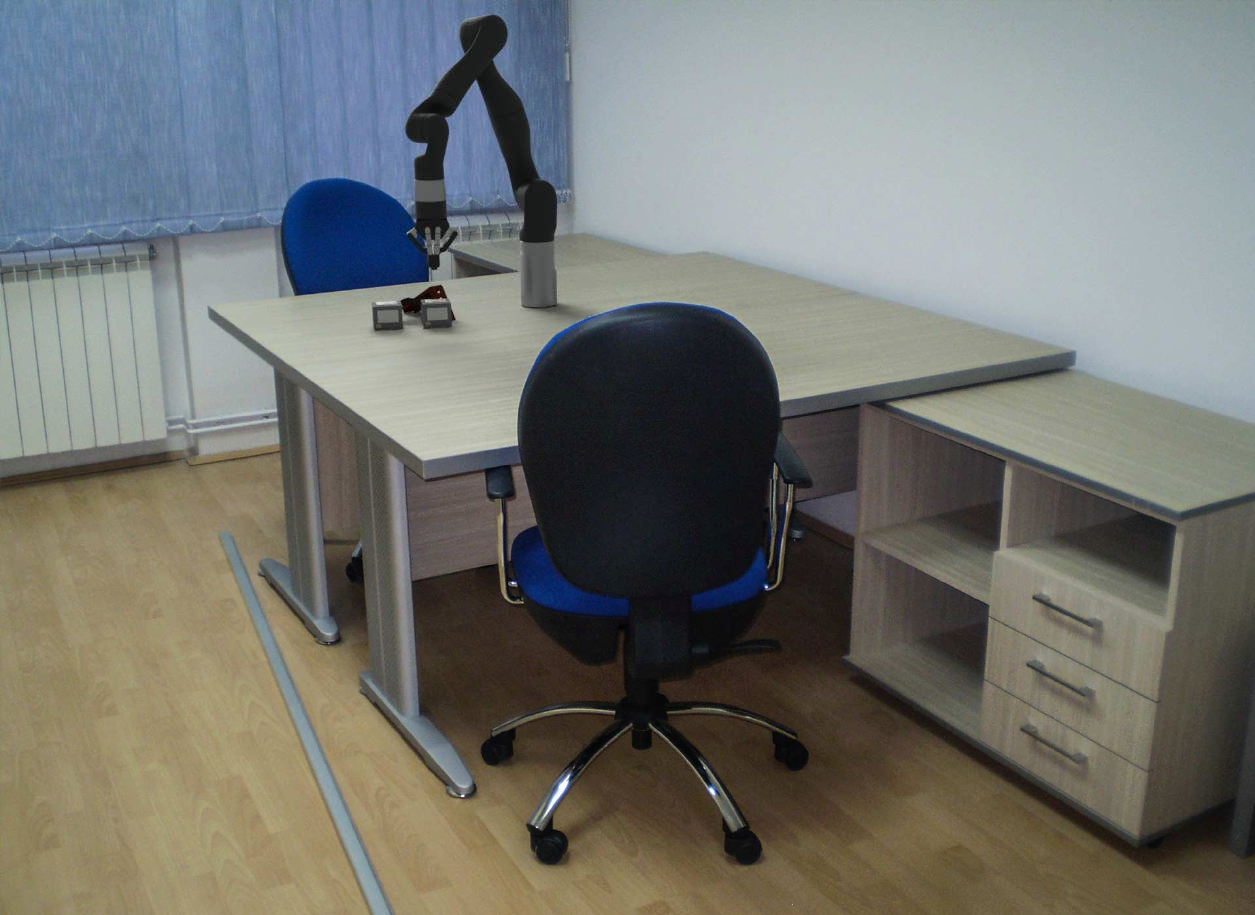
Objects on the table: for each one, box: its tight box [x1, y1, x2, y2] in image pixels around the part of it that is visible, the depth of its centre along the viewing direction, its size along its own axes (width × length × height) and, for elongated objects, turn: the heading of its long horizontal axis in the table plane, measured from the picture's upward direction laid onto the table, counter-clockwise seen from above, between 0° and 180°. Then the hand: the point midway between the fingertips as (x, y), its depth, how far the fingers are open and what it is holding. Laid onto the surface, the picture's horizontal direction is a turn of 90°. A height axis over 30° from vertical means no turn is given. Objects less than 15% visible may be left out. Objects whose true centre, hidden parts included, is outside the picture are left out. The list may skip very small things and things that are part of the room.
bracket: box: [399, 284, 457, 322], centre depth 325 cm, size 10×14×10 cm
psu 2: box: [420, 298, 453, 329], centre depth 317 cm, size 7×6×6 cm
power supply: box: [371, 300, 404, 332], centre depth 314 cm, size 7×6×6 cm
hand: (434, 269), depth 313 cm, fingers closed
